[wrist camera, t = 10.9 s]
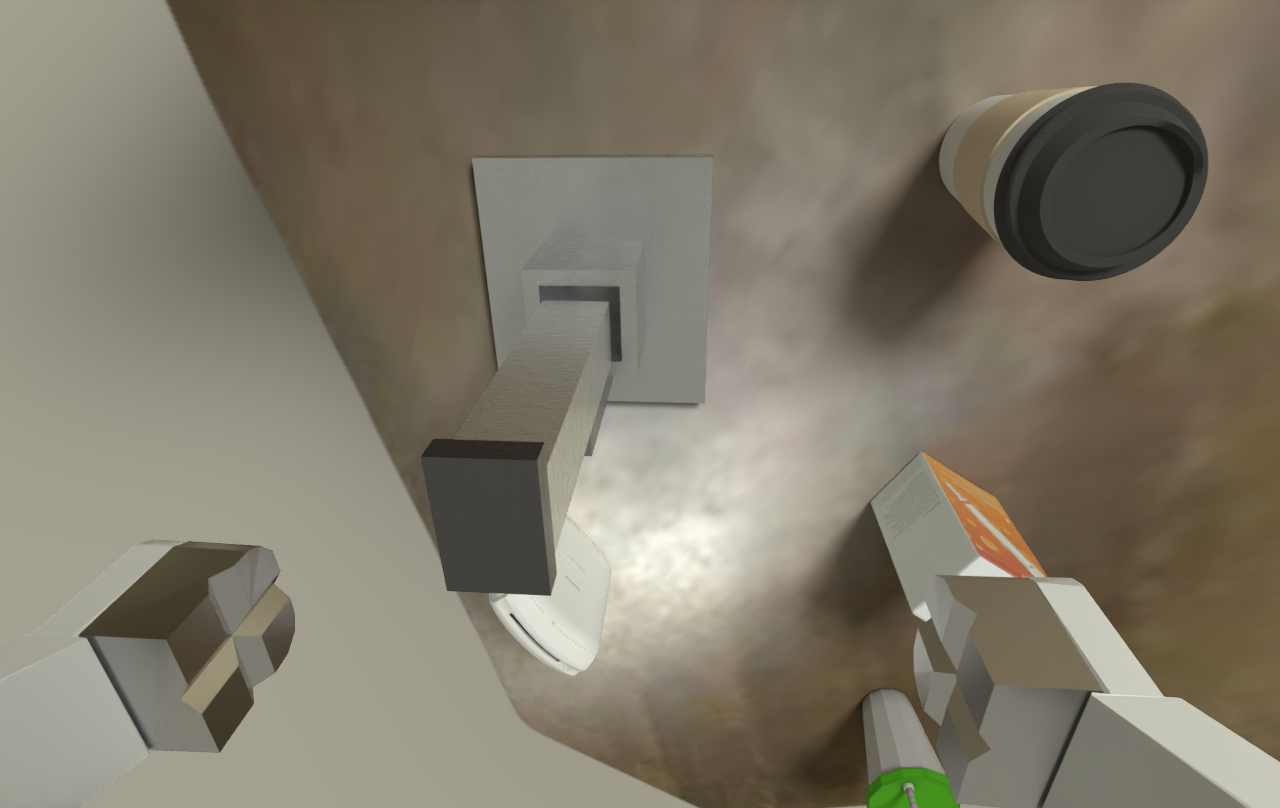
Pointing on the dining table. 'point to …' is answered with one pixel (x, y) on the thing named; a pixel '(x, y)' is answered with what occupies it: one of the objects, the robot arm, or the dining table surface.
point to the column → (520, 454)
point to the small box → (946, 530)
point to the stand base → (605, 259)
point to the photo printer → (562, 607)
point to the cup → (901, 756)
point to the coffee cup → (1078, 175)
